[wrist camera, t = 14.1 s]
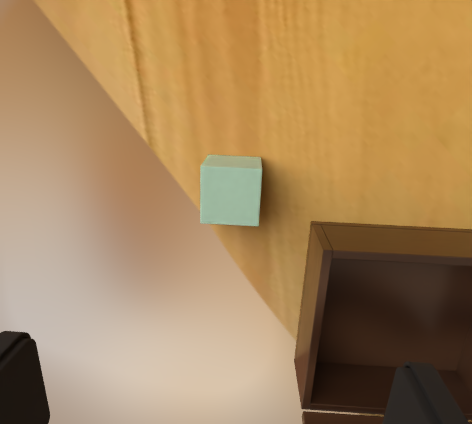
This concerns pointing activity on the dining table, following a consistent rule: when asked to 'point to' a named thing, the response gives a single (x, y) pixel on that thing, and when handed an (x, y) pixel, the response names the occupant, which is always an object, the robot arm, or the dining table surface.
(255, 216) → the block
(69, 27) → the dining table surface
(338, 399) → the box
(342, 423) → the lid
